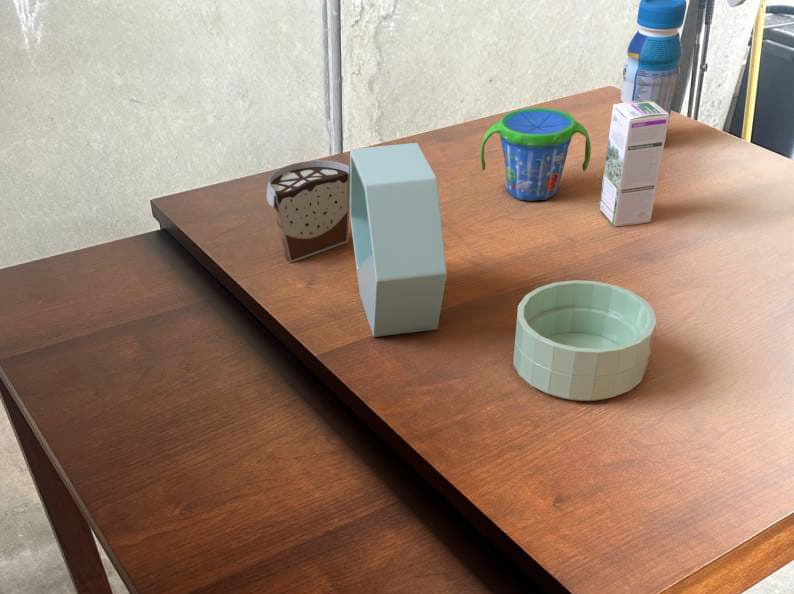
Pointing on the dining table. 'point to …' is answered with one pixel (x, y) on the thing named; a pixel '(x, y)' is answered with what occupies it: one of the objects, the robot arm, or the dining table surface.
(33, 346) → the dining table surface
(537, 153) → the snack cup
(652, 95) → the beverage bottle
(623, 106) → the syrup box
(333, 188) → the food container
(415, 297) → the planter
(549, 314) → the bowl
